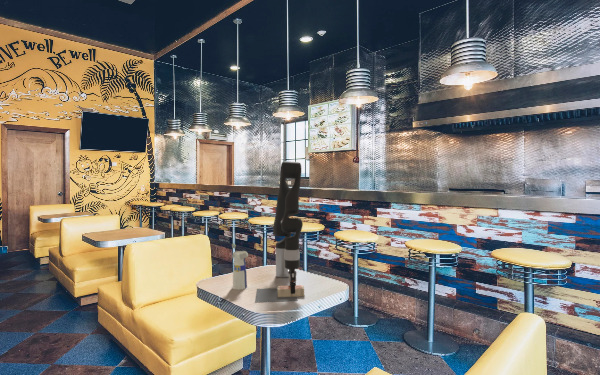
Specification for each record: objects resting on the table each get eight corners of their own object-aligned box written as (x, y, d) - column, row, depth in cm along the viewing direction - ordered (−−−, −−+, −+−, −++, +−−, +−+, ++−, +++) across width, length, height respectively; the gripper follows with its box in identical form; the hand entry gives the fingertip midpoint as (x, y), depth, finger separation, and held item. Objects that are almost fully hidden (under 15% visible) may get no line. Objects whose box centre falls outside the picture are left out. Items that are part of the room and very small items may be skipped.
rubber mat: (256, 289, 174) (256, 288, 174) (294, 288, 176) (294, 287, 176) (254, 303, 153) (254, 302, 153) (297, 302, 155) (297, 301, 155)
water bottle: (244, 291, 172) (244, 243, 172) (229, 290, 174) (229, 242, 174) (250, 286, 180) (250, 240, 180) (235, 285, 182) (235, 240, 182)
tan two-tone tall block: (277, 285, 167) (303, 284, 168) (277, 293, 167) (303, 292, 168) (277, 289, 161) (304, 288, 162) (277, 297, 161) (304, 296, 162)
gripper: (300, 261, 158) (301, 295, 158) (298, 255, 172) (298, 286, 172) (285, 261, 157) (285, 295, 157) (284, 255, 171) (284, 286, 171)
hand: (292, 290), depth 164 cm, fingers open, 8 cm apart
